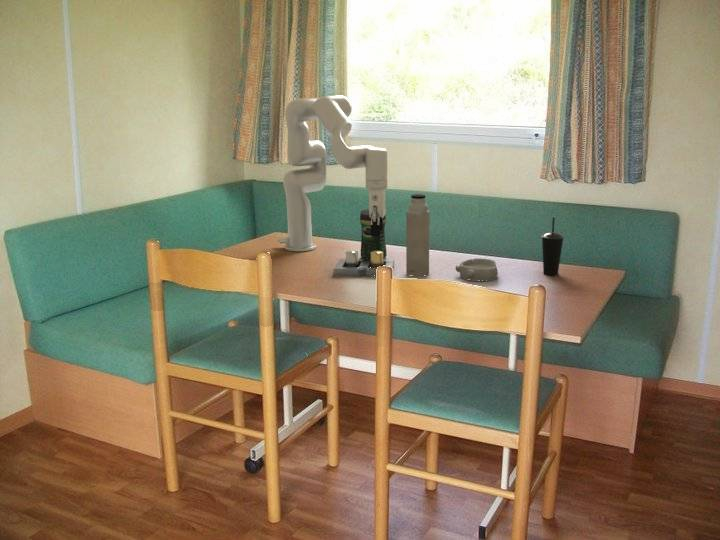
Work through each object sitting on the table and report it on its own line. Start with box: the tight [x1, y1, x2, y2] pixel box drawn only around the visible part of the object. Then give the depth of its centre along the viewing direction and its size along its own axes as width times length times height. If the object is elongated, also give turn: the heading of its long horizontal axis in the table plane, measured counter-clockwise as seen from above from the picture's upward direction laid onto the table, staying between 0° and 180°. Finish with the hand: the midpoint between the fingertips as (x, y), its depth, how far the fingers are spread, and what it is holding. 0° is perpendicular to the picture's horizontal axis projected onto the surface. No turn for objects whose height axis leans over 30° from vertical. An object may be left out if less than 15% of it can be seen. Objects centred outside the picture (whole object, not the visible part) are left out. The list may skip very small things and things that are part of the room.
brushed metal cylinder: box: [345, 249, 359, 268], centre depth 275 cm, size 4×4×7 cm
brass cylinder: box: [371, 251, 384, 268], centre depth 274 cm, size 4×4×7 cm
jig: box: [333, 258, 395, 277], centre depth 275 cm, size 20×14×2 cm
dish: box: [455, 258, 499, 282], centre depth 266 cm, size 14×14×5 cm
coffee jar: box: [359, 208, 387, 260], centre depth 291 cm, size 10×8×19 cm
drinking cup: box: [540, 217, 565, 277], centre depth 265 cm, size 8×8×20 cm
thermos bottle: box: [405, 193, 431, 277], centre depth 267 cm, size 8×8×28 cm
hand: (376, 233), depth 271 cm, fingers open, 8 cm apart
